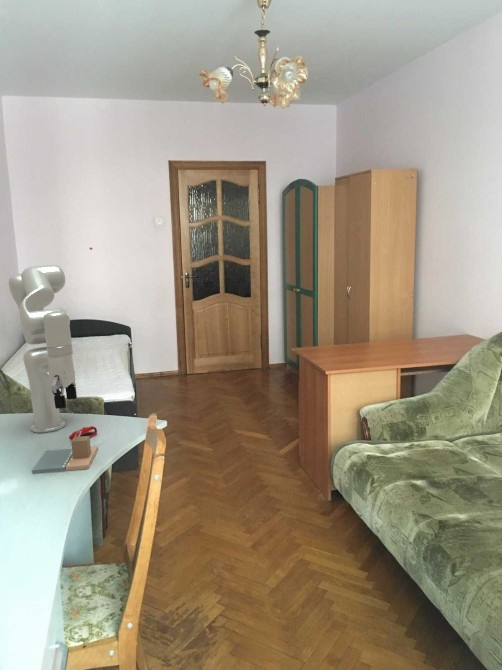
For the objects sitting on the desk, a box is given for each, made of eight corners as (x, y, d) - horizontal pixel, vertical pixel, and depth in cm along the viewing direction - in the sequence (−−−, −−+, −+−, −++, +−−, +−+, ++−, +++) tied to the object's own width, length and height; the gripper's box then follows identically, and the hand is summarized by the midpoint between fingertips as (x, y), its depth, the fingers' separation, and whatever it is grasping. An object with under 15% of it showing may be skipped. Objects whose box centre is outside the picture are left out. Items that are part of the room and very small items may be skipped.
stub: (77, 450, 189) (75, 431, 188) (98, 449, 190) (95, 429, 188) (65, 470, 173) (63, 448, 172) (88, 468, 174) (86, 447, 172)
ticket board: (46, 453, 188) (46, 450, 188) (76, 451, 189) (76, 447, 189) (32, 473, 173) (31, 469, 172) (65, 470, 173) (64, 466, 173)
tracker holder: (65, 433, 204) (90, 421, 209) (70, 444, 205) (95, 432, 210) (71, 435, 194) (97, 422, 199) (76, 447, 194) (102, 434, 199)
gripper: (58, 346, 182) (64, 396, 185) (36, 357, 165) (44, 412, 168) (81, 345, 182) (87, 395, 184) (61, 356, 164) (68, 411, 167)
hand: (66, 403), depth 176 cm, fingers open, 9 cm apart
